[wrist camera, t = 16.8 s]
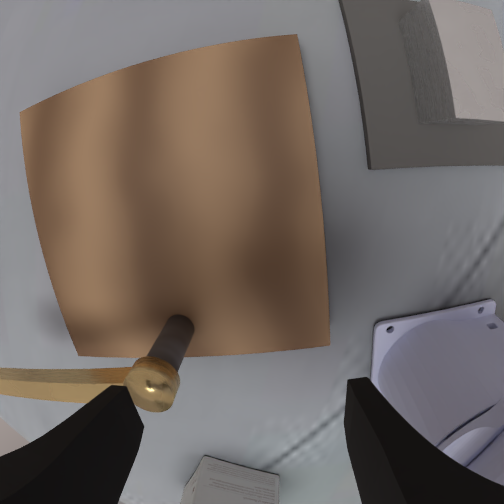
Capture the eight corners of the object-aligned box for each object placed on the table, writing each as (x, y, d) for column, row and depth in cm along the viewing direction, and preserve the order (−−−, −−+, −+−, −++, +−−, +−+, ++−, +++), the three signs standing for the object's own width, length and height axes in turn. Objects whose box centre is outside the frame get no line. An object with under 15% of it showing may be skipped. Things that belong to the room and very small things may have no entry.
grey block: (455, 29, 12) (491, 9, 8) (474, 125, 14) (517, 123, 10) (398, 22, 13) (427, -6, 9) (418, 123, 14) (455, 117, 11)
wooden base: (294, 46, 14) (304, -4, 8) (325, 327, 19) (342, 394, 13) (39, 113, 16) (-29, 110, 10) (91, 340, 20) (48, 392, 15)
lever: (169, 354, 12) (161, 371, 11) (186, 393, 13) (180, 411, 12) (-12, 360, 14) (-22, 370, 13) (4, 388, 15) (-5, 398, 14)
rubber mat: (480, 18, 12) (484, 16, 12) (505, 164, 15) (511, 165, 14) (338, -1, 13) (340, -5, 13) (368, 169, 16) (371, 169, 15)
